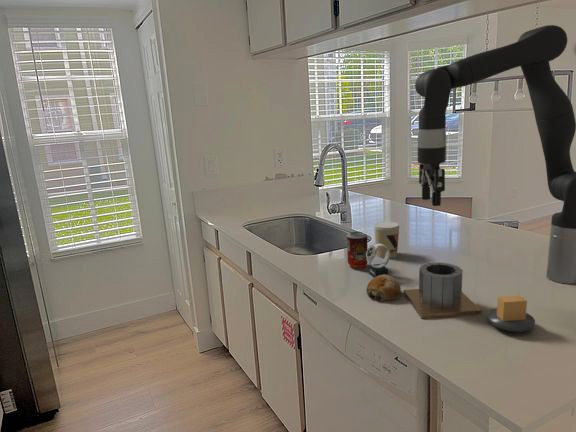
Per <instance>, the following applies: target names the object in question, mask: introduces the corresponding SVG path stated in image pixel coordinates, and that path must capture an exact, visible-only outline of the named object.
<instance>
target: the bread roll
mask: <svg viewBox="0 0 576 432" xmlns="http://www.w3.org/2000/svg"><path fill="white" fill-rule="evenodd" d="M366 294H367V296H368V297H369V298H370V299H372V300H373V301H378V302H379V301H380V302H390V301H391V302H392V301H394V300H398V299H399V298H400V297H401V295H402V289H401V285H400V284H399V282H398V280H396V279H395V278H394V277H393V276H391V275H390V274H388V275H385V274H383V275H379V276H377V277H375V278H373V277H372V279H371V280H370V281H369V282H368V284H367V287H366Z"/></svg>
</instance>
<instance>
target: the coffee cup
mask: <svg viewBox="0 0 576 432" xmlns="http://www.w3.org/2000/svg"><path fill="white" fill-rule="evenodd" d="M373 229H374V244H378V243H379V244H383V245H385V246H386V247H387V248H388V249H389V250H390V255H391V256H390V259H393V258H396V257H397V256H398V248H399V247H398V246H399V234H400V225H399V223H398V222H395V221H378V222H376V223H374V226H373ZM386 252H387V250H386V248H385V247H383V246H380V247H379V248H378V250H377V254H376V257H379V258H382V259H384V258H385V255H386Z"/></svg>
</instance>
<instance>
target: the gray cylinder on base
mask: <svg viewBox="0 0 576 432" xmlns="http://www.w3.org/2000/svg"><path fill="white" fill-rule="evenodd" d="M418 271H419V274H418V276H419V277H418V288H409V289H403V291H402V292H403V295H404V297H405V298H406V299H407V301H408V303H410V305H411V306H412V308H413V309H414V311H416V313H417V315H418V316H419V317H420V319H421V320H422V319H434V318H435V319H436V318H446V317H447V318H449V317H465V316H466V317H467V316H477V315H479V314H480V315H482V309H481V308H479V307H478V306H477V304H476V303H474V302H473V301H472V300H471V299H470V298H469V297H468V296H467V295H466V294H465V293H464V292H463V269H462V268H461V267H460V266H458V265H456V264H452V263H447V262H427V263H424V264H421V266H420V267H419V270H418Z"/></svg>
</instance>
